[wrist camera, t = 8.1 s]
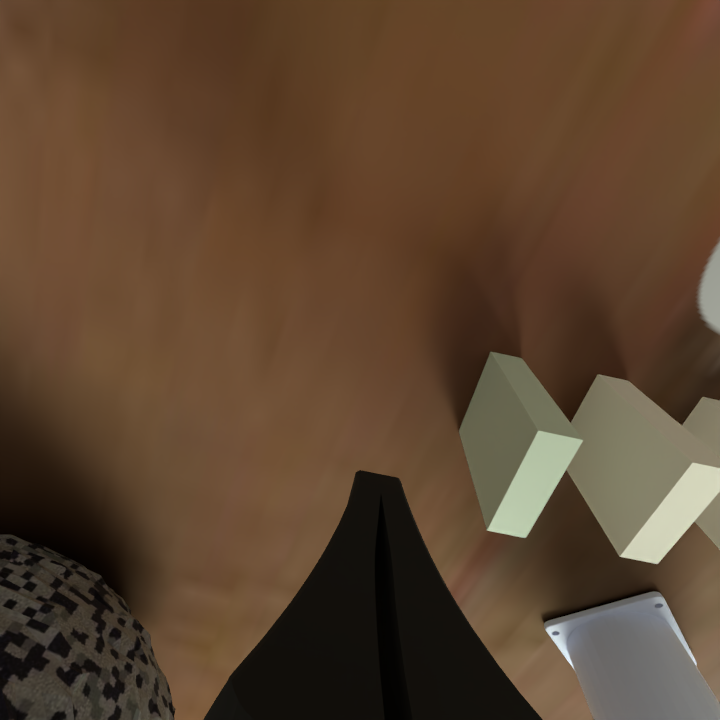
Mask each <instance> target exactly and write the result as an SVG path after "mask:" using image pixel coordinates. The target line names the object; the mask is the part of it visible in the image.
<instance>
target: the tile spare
mask: <svg viewBox="0 0 720 720" xmlns="http://www.w3.org/2000/svg"><path fill="white" fill-rule="evenodd" d="M459 434H460V438H461V441H462V445H463V448H464V452H465V455H466V459H467V462H468V466H469V469H470V473H471V476H472V480H473V483H474V487H475V490H476V494H477V497H478V501H479V504H480V508H481V511H482V515H483V518H484V522H485V525H486V529H487V531H492V532H497V533H502V534H507V535H512V536H517V537H522V538H526V537H527V535H528V534H529V532H530V530H531V528H532V527H533V525H534V523H535V522H536V520H537V518H538V517H539V515H540V513H541V511H542V510H543V508H544V506H545V505H546V503H547V501H548V500H549V498H550V496H551V494H552V493H553V491H554V489H555V488H556V486H557V484H558V482H559V481H560V479H561V477H562V476H563V474H564V472H565V471H566V469H567V467H568V465H569V464H570V462H571V460H572V459H573V457H574V455H575V454H576V452H577V450H578V448H579V447H580V445H581V443H582V442H583V439H582V437H581V436H580V435H579V434H578V432H577V431H576V430H575V428H574V427H573V426H572V424H571V423H570V422H569V420H568V419H567V418H566V416H565V415H564V414H563V412H562V411H561V410H560V408H559V407H558V406H557V404H556V403H555V402H554V400H553V399H552V398H551V396H550V395H549V394H548V392H547V391H546V390H545V388H544V387H543V386H542V384H541V383H540V382H539V380H538V379H537V378H536V376H535V375H534V374H533V372H532V371H531V370H530V368H529V367H528V366H527V364H526V363H525V362H524V360H523V359H522V358H519V357H514V356H509V355H505V354H500V353H496V352H490V354H489V357H488V359H487V362H486V364H485V367H484V369H483V372H482V374H481V377H480V379H479V382H478V384H477V387H476V389H475V392H474V394H473V397H472V399H471V402H470V404H469V407H468V409H467V412H466V414H465V417H464V419H463V422H462V424H461V427H460V430H459Z"/></svg>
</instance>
